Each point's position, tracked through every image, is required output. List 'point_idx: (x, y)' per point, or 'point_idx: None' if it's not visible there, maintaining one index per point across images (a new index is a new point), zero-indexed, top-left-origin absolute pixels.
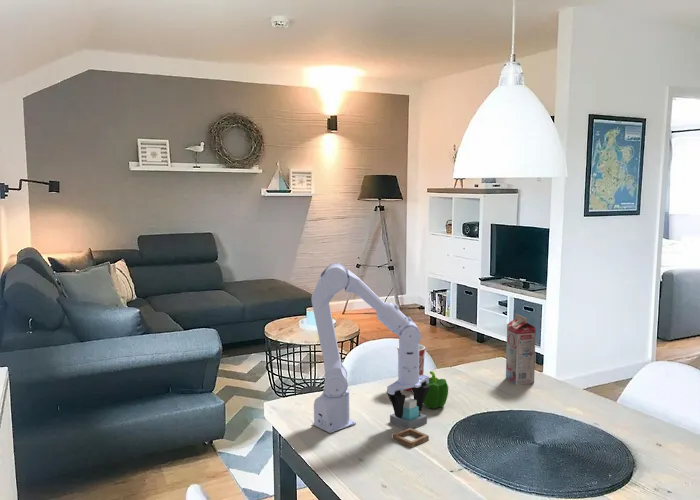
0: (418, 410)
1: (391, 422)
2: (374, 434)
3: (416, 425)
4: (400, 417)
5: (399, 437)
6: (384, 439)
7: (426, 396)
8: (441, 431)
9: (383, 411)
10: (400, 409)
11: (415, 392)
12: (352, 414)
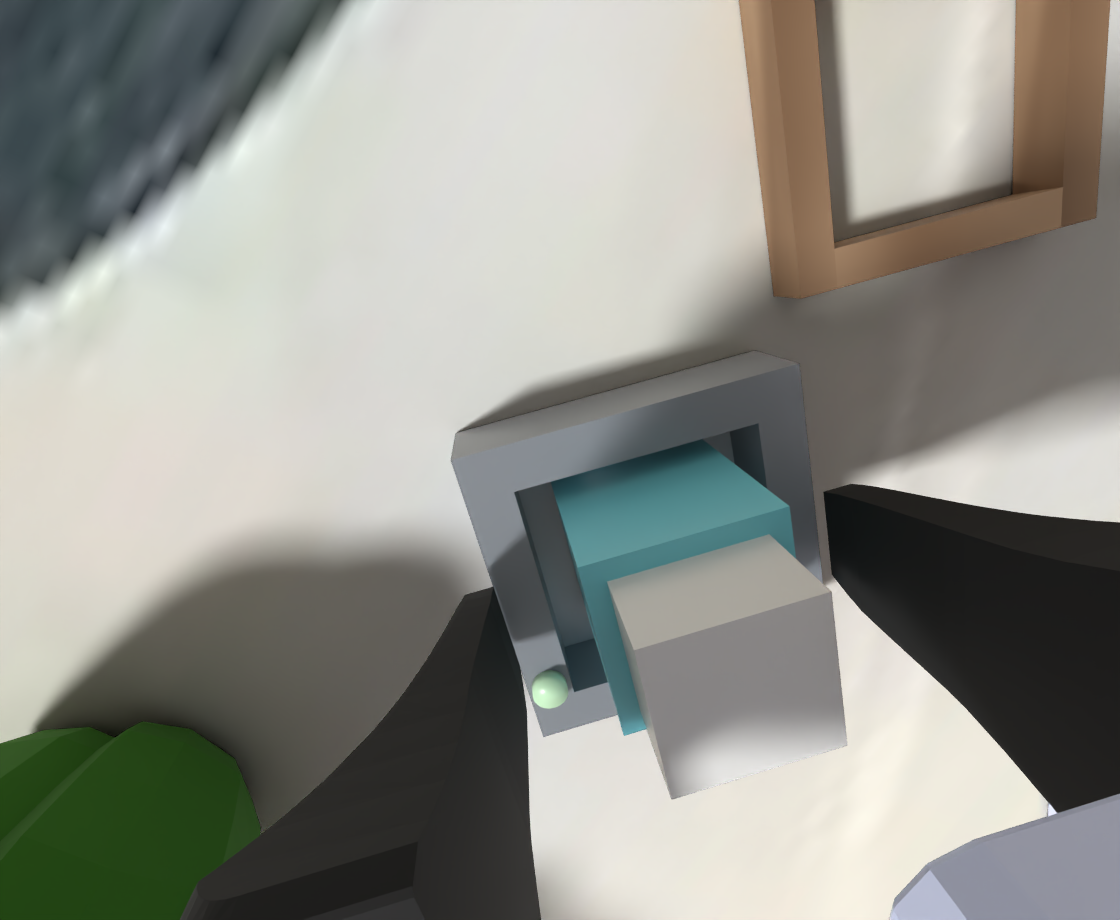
0: (570, 537)
1: None
2: (1086, 416)
3: (636, 389)
4: (860, 487)
5: (1096, 92)
6: (1102, 261)
7: None
8: (419, 114)
9: (693, 819)
10: (982, 511)
11: (526, 899)
12: (941, 836)
